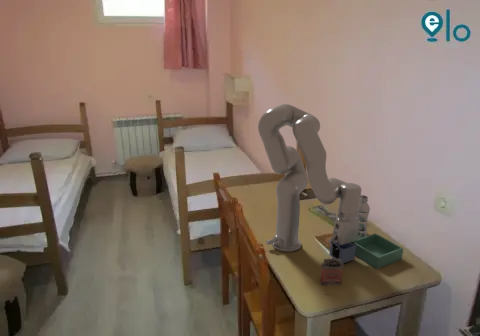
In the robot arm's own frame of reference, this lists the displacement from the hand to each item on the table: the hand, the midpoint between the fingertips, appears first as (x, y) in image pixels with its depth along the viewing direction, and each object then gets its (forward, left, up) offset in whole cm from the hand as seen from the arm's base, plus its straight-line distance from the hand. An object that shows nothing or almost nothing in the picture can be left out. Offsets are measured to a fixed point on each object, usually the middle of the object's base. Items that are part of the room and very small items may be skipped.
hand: (342, 254), depth 155 cm
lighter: (-15, -10, -3) cm, 18 cm away
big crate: (+14, -5, -2) cm, 15 cm away
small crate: (0, 0, -1) cm, 1 cm away
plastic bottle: (+19, +9, -3) cm, 22 cm away
